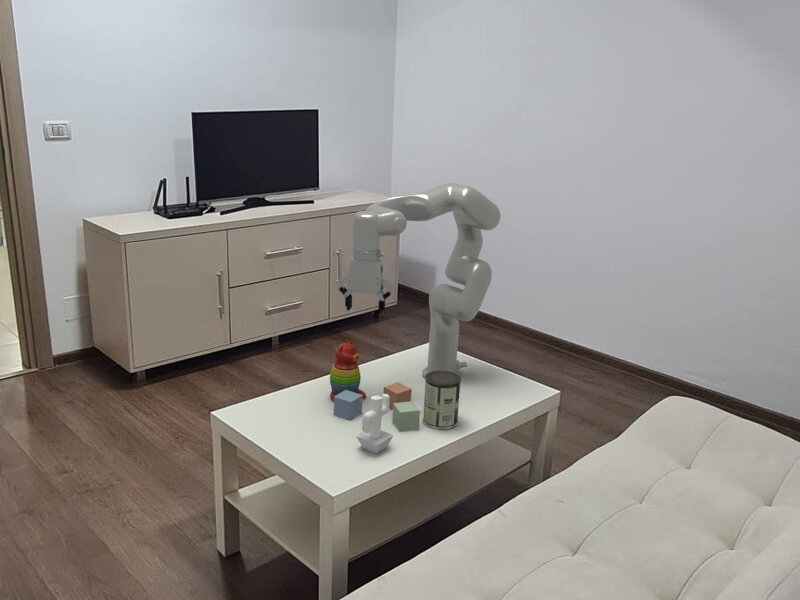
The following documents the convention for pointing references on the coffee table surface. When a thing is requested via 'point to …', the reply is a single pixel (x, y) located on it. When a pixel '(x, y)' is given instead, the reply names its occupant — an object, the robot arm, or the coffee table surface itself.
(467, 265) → the robot arm
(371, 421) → the figurine
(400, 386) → the terracotta block
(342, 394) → the slate block
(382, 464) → the coffee table surface
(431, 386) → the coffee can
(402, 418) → the sage block
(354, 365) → the stacking bear
